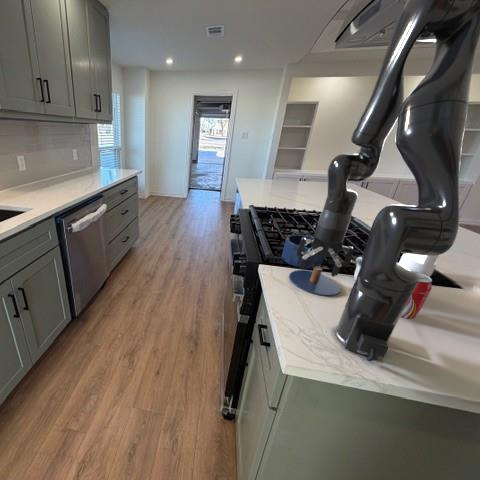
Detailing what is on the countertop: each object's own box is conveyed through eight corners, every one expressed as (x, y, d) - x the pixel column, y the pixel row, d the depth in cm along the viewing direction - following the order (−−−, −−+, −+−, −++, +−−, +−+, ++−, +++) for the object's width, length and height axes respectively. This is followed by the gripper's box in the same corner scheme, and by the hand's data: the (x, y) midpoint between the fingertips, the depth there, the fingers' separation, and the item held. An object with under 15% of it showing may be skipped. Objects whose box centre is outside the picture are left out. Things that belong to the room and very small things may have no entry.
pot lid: (341, 303, 74) (348, 285, 72) (287, 288, 80) (291, 272, 78) (336, 280, 86) (342, 264, 83) (289, 269, 92) (293, 254, 90)
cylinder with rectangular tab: (390, 266, 96) (403, 237, 91) (417, 269, 95) (432, 240, 90) (406, 278, 88) (421, 247, 83) (436, 282, 86) (453, 250, 82)
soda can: (376, 304, 74) (392, 268, 69) (400, 305, 74) (418, 269, 69) (395, 320, 68) (415, 282, 63) (422, 321, 67) (444, 283, 63)
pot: (321, 274, 89) (328, 252, 86) (279, 264, 95) (285, 243, 92) (319, 258, 100) (326, 239, 97) (282, 250, 106) (287, 232, 103)
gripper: (305, 223, 75) (292, 271, 81) (364, 233, 69) (344, 283, 75) (305, 217, 81) (293, 261, 88) (359, 225, 75) (342, 272, 81)
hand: (317, 271), depth 81 cm, fingers open, 8 cm apart
